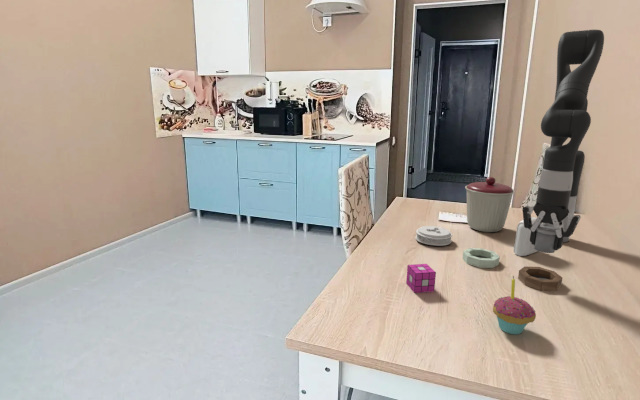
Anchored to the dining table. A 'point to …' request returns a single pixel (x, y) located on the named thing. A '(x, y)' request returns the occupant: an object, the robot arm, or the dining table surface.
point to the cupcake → (513, 312)
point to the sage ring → (481, 257)
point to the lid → (433, 235)
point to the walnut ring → (540, 278)
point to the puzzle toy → (420, 278)
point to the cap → (545, 239)
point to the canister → (488, 205)
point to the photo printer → (524, 240)
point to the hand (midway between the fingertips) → (544, 246)
